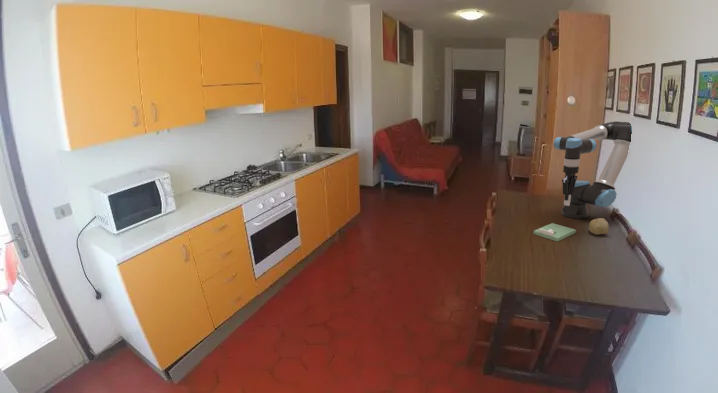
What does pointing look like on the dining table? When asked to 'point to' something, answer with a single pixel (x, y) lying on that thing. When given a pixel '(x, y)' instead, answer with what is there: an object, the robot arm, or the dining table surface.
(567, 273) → the dining table surface
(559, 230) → the mat
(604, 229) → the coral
